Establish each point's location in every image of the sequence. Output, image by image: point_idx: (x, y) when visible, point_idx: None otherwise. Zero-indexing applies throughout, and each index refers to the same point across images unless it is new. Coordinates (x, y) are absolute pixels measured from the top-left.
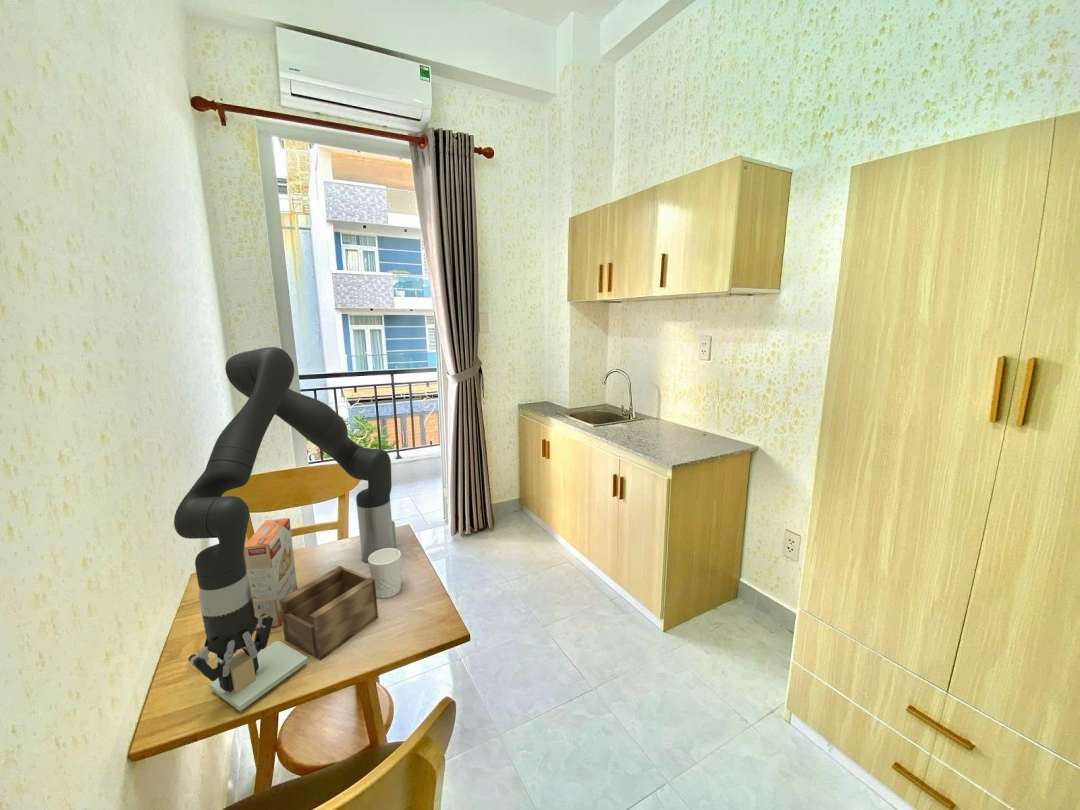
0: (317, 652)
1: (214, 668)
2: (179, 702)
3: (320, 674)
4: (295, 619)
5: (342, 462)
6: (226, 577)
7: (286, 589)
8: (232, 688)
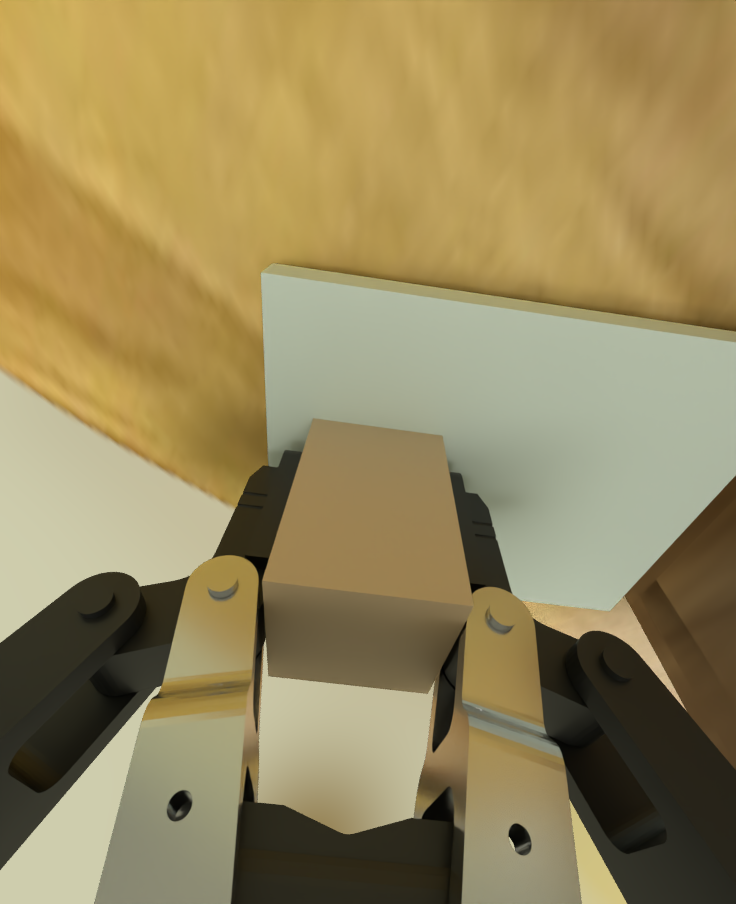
0: (650, 615)
1: (148, 650)
2: (89, 83)
3: (541, 620)
4: None
5: None
6: None
7: None
8: None
